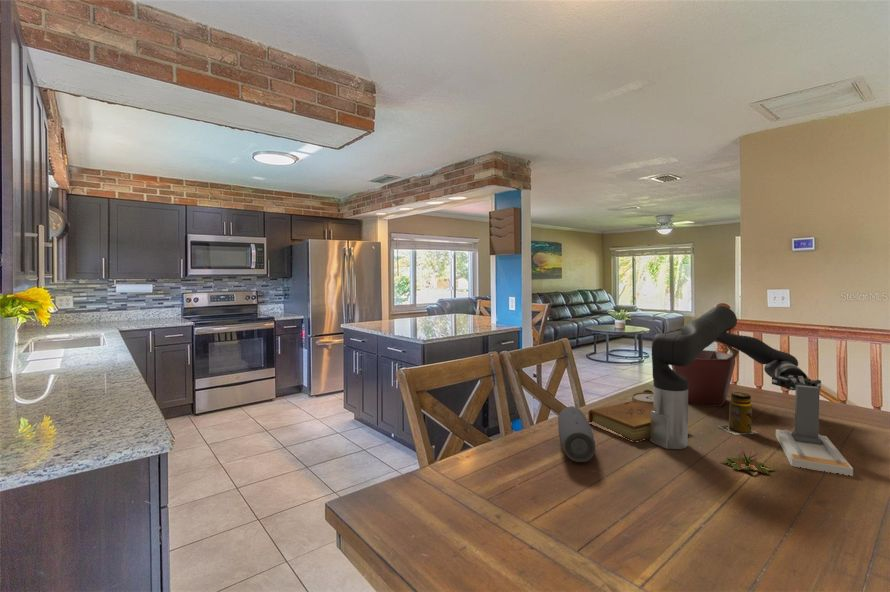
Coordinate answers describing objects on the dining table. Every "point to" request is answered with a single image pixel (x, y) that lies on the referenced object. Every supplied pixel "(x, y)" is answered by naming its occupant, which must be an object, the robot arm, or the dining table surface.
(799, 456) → the switch board
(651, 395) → the alarm clock
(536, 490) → the dining table surface
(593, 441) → the bluetooth speaker
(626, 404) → the diary
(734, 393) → the condiment
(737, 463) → the succulent plant
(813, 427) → the switch lever
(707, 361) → the bucket
